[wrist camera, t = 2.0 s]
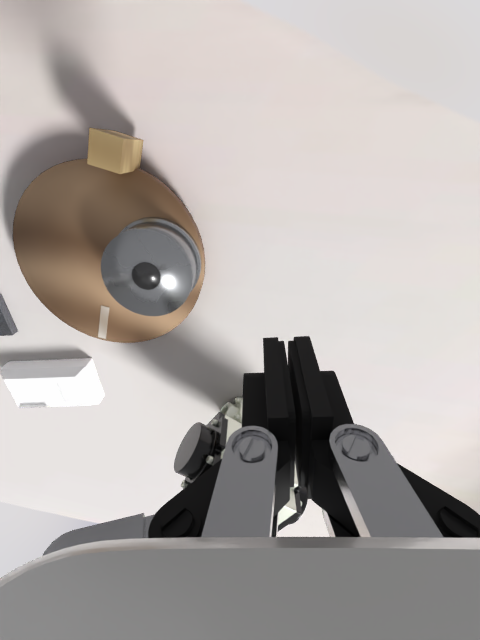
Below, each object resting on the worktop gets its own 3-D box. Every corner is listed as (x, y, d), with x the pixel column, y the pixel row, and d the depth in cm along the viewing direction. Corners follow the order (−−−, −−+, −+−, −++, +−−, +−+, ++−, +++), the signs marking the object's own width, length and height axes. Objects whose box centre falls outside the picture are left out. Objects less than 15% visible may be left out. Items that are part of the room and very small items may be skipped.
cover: (126, 301, 27) (110, 321, 24) (106, 219, 24) (84, 229, 21) (206, 297, 27) (200, 317, 24) (196, 213, 24) (187, 224, 21)
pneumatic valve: (272, 445, 38) (280, 559, 28) (188, 399, 35) (162, 507, 25) (303, 417, 36) (325, 530, 25) (216, 366, 33) (200, 470, 22)
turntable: (185, 352, 31) (176, 379, 27) (25, 311, 29) (-6, 334, 26) (232, 169, 23) (228, 172, 20) (18, 99, 22) (-27, 89, 18)
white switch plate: (106, 392, 36) (96, 409, 33) (28, 395, 36) (13, 412, 34) (93, 355, 33) (81, 371, 31) (10, 359, 34) (-8, 375, 31)
